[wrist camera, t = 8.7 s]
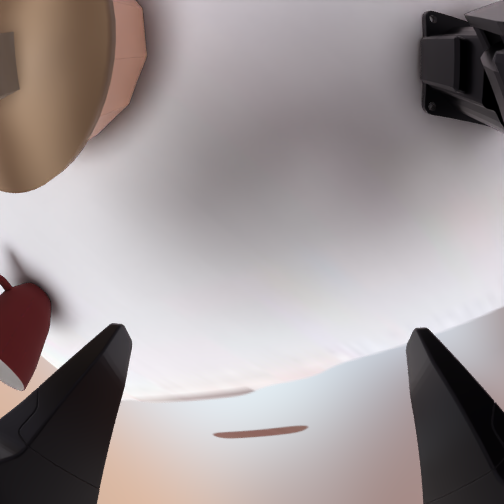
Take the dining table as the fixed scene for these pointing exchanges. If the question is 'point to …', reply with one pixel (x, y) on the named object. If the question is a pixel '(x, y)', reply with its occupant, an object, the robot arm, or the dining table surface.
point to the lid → (51, 84)
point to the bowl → (124, 60)
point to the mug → (22, 331)
